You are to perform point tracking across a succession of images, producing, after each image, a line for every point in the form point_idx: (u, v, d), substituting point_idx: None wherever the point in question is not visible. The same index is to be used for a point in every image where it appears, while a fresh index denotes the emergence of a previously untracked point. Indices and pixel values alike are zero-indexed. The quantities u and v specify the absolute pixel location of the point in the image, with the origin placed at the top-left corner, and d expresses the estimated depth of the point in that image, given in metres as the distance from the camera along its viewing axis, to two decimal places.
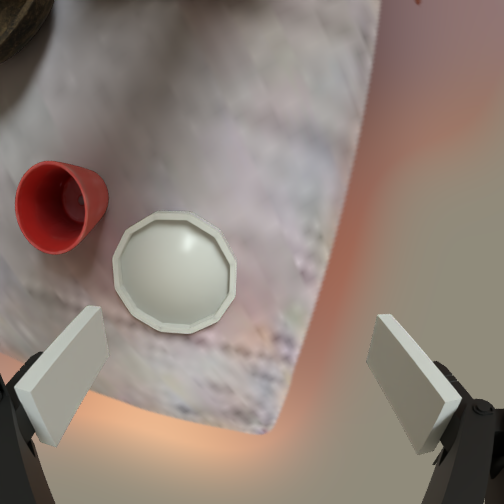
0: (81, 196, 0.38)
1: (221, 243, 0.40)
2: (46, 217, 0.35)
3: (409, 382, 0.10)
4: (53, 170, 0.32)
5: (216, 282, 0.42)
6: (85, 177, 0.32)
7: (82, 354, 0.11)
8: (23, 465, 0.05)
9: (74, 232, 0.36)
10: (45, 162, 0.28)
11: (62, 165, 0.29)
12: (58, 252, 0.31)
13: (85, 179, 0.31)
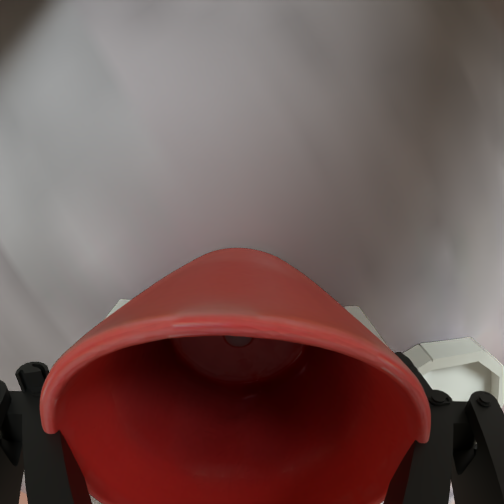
0: None
1: (502, 383, 0.16)
2: (147, 408, 0.12)
3: None
4: None
5: None
6: None
7: None
8: (63, 461, 0.05)
9: (244, 435, 0.13)
10: (231, 325, 0.05)
11: (365, 347, 0.05)
12: None
13: None
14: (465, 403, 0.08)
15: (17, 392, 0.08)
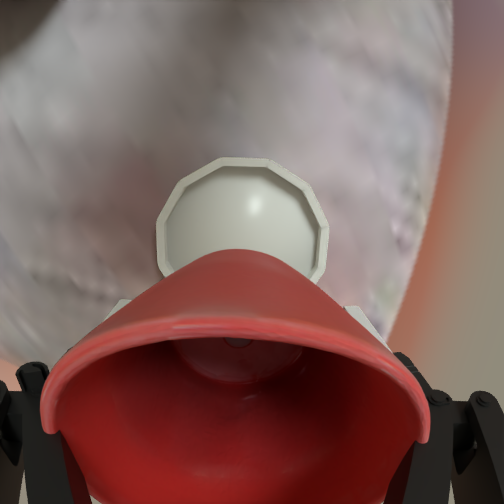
0: None
1: (311, 199, 0.29)
2: (147, 408, 0.12)
3: None
4: None
5: (298, 253, 0.32)
6: None
7: None
8: (63, 461, 0.05)
9: (244, 436, 0.13)
10: (231, 327, 0.05)
11: (364, 349, 0.05)
12: None
13: None
14: (465, 403, 0.08)
15: (17, 392, 0.08)
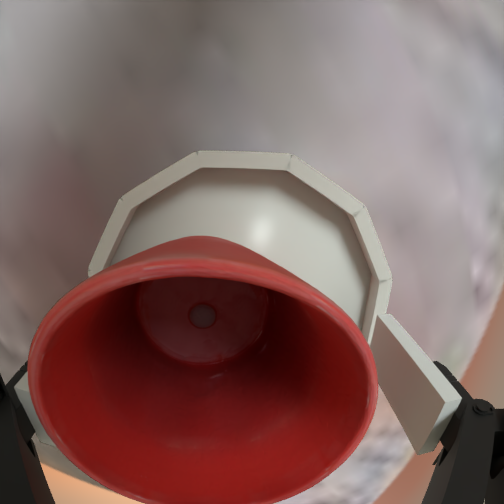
0: (201, 307, 0.16)
1: (367, 231, 0.16)
2: (121, 384, 0.13)
3: (409, 382, 0.10)
4: None
5: None
6: None
7: None
8: (23, 465, 0.05)
9: (213, 410, 0.14)
10: (188, 266, 0.07)
11: (299, 286, 0.07)
12: None
13: None
14: None
15: None
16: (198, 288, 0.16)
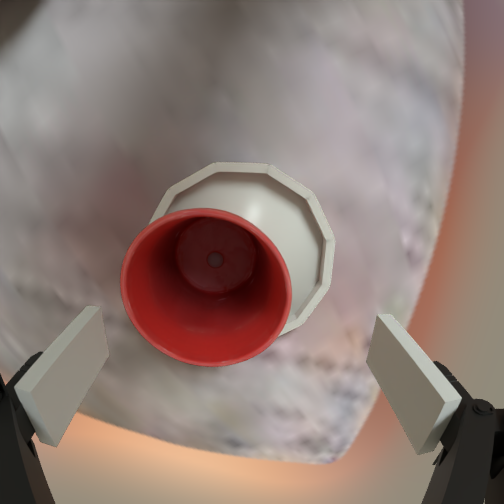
0: (214, 254, 0.28)
1: (316, 208, 0.27)
2: (163, 292, 0.24)
3: (409, 382, 0.10)
4: None
5: (300, 268, 0.29)
6: None
7: (82, 354, 0.11)
8: (23, 465, 0.05)
9: (216, 315, 0.26)
10: (200, 211, 0.18)
11: (243, 221, 0.18)
12: (220, 364, 0.21)
13: None
14: None
15: None
16: (213, 242, 0.27)
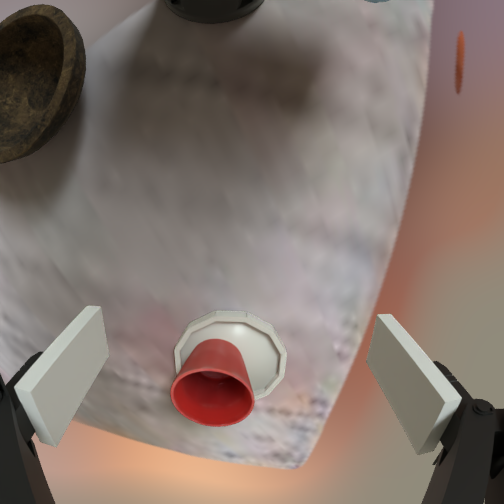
0: None
1: (274, 339, 0.45)
2: (189, 386, 0.43)
3: (409, 382, 0.10)
4: None
5: (267, 365, 0.47)
6: (243, 371, 0.39)
7: (82, 354, 0.11)
8: (23, 465, 0.05)
9: (218, 395, 0.44)
10: (209, 369, 0.36)
11: (229, 373, 0.36)
12: (220, 425, 0.39)
13: (244, 374, 0.39)
14: None
15: None
16: None
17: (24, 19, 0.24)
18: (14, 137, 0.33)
